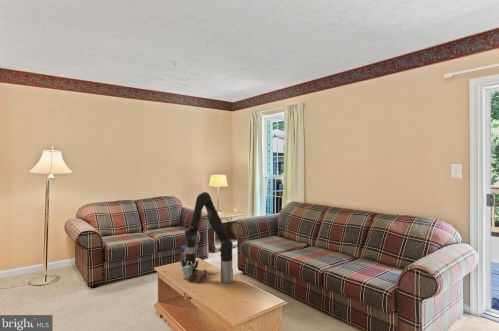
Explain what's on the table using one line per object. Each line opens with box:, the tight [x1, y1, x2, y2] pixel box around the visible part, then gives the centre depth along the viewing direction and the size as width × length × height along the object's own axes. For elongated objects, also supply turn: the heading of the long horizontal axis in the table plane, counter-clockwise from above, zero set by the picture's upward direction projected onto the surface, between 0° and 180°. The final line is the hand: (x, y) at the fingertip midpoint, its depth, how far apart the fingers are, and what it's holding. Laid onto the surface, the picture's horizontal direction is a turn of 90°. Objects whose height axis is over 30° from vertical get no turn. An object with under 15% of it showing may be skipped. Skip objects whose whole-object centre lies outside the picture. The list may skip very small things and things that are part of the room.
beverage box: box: [180, 245, 197, 274], centre depth 266 cm, size 7×11×22 cm, turn 132°
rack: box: [188, 268, 207, 284], centre depth 247 cm, size 10×14×6 cm
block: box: [183, 265, 193, 277], centre depth 248 cm, size 5×8×7 cm, turn 164°
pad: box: [183, 275, 199, 281], centre depth 251 cm, size 9×9×1 cm
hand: (190, 272), depth 250 cm, fingers closed on block, 5 cm apart
